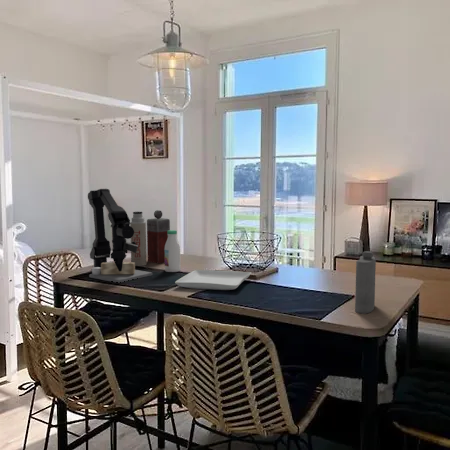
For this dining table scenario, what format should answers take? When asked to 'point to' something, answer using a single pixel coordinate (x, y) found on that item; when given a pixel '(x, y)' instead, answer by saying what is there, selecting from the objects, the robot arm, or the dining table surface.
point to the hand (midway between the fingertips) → (120, 271)
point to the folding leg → (112, 268)
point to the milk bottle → (172, 252)
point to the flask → (365, 283)
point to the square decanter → (157, 237)
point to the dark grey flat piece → (117, 275)
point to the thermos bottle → (139, 239)
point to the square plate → (213, 279)
